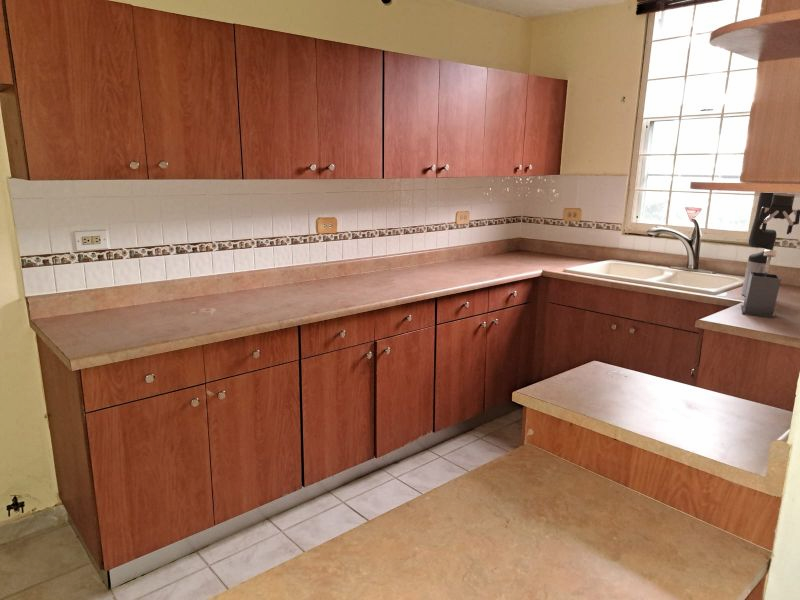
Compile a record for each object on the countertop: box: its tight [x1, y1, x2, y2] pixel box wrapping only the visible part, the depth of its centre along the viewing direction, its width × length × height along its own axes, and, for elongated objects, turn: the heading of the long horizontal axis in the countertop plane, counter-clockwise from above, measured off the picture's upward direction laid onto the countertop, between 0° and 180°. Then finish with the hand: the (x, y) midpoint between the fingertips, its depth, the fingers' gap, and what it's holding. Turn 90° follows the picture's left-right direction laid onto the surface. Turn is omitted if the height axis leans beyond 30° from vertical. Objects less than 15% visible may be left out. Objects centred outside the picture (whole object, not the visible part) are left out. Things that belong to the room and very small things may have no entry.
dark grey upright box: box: [740, 272, 782, 319], centre depth 254 cm, size 12×12×17 cm
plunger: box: [763, 249, 777, 277], centre depth 251 cm, size 8×8×17 cm
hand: (775, 233), depth 243 cm, fingers open, 8 cm apart
